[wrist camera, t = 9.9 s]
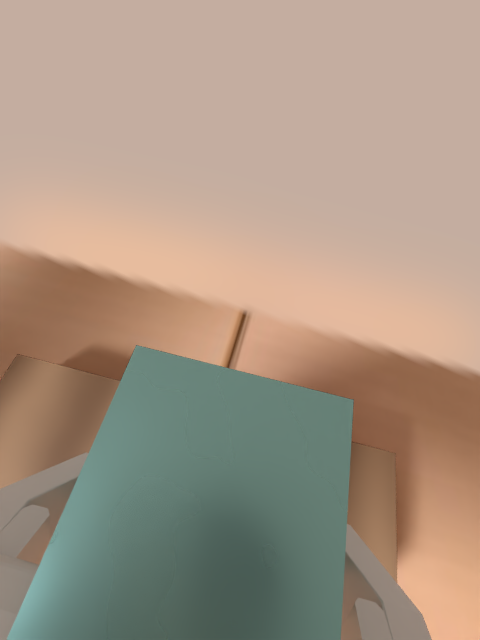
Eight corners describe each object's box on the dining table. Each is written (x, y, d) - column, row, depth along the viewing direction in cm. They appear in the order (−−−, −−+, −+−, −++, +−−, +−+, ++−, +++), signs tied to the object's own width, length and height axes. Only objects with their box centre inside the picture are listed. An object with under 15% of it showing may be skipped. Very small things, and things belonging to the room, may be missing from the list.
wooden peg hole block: (-16, 481, 20) (-67, 484, 16) (47, 371, 23) (17, 353, 20) (362, 589, 19) (397, 618, 15) (366, 455, 22) (395, 453, 19)
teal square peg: (165, 514, 14) (3, 645, 3) (191, 428, 16) (136, 345, 5) (246, 536, 14) (334, 749, 3) (262, 447, 16) (353, 399, 5)
